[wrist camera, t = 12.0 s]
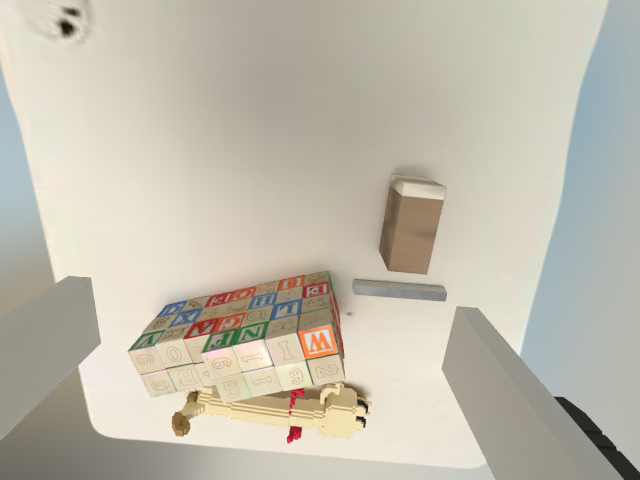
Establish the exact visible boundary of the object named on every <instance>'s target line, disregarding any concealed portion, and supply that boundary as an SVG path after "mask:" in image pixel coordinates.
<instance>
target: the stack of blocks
mask: <svg viewBox="0 0 640 480" xmlns="http://www.w3.org/2000/svg"><path fill="white" fill-rule="evenodd" d="M128 354H129V356H130V358H131V360H132V362H133V364H134V366H135V368H136V370H137V372H138V374H139V375H140V376H141V379H142V381H143V383H144V385H145V386H146V388H147V391H148V392H149V394H150V396H151V397H155V396H160V395H164V394H169V393H174V392H176V391H177V392H181V391H186V390H191V389H196V388H201V387H207V386H212V385H216V388H217V390H218V393H219V395H220V398H221V400H222V403H229V402H234V401H239V400H244V399H249V398H252V397H257V396H262V395H267V394H272V393H277V392H280V391H289V390H294V389H299V388H304V387H309V386H313V385H316V386H317V385H323V384H328V383H333V382H339V381H343V380H345V372H344V362H343V359H344V349H343V341H342V336H341V328H340V318H339V311H338V307H337V303H336V299H335V295H334V292H333V288H332V284H331V280H330V276H329V272H328V271H325V272H320V273H315V274H310V275H305V276H304V275H302V276H298V277H293V278H288V279H283V280H279V281H273V282H269V283H264V284H260V285H257V286H254V287H250V288H245V289H240V290H236V291H234V292H228V293H223V294H219V295H214V296H206V297H202V298H197V299H192V300H189V301H183V302H179V303H174V304H170V305H166V306H165V308H164V309H163V310H162V311H161V312H160V313H159V314H158V315H157V317H156V318H155V319H154V320H153V321H152V322H151V323H150V324H149V325H148V327H147V328H146V329H145V330H144V331H143V333H142V335H141V336H140V337H139V338H138V340H137V341H136V342H135V343H134V344H133V345H132V347H131V348H130V349H129V350H128Z"/></svg>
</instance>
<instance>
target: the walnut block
mask: <svg viewBox="0 0 640 480" xmlns="http://www.w3.org/2000/svg"><path fill="white" fill-rule="evenodd" d="M445 192H446V187H445V186H443V185H440V184H438V183H436V182H434V181H432V180H430V179H428V178H421V177H412V176H402V175H393V174H392V176H391V182H390V188H389V194H388V200H387V206H386V212H385V218H384V223H383V229H382V235H381V241H380V247H379V251H380V254H381V256H382V258H383V260H384V263H385V265H386V267H387V269H388V271H395V272H405V273H416V274H426V275H427V272H428V267H429V263H430V258H431V254H432V250H433V245H434V241H435V236H436V232H437V227H438V223H439V218H440V214H441V210H442V205H443V201H444V196H445Z"/></svg>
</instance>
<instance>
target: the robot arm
mask: <svg viewBox="0 0 640 480" xmlns="http://www.w3.org/2000/svg"><path fill="white" fill-rule="evenodd" d="M100 344H101V341H100V335H99V328H98V322H97V315H96V308H95V302H94V295H93V289H92V282H91V278H89V277H76V276H68V277H66V278H65V279H63V280H61V281H60V282H58V283H56V284H54V285H53V286H51V287H50V288H48V289H46V290H44V291H43V292H41V293H39V294H37V295H36V296H34V297H32V298H30V299H29V300H27V301H25V302H24V303H22V304H20V305H19V306H17V307H15V308H13V309H12V310H10V311H8V312H7V313H5V314H3V315H1V316H0V441H1V440H2V439H3V438H4V437H5V436H6V435H7V434H8V433H9V432H10V431H11V430H12V429H13V428H14V427H15V426H16V425H17V424H18V423H19V422H20V421H21V420H22V419H23V418H24V417H25V416H26V415H27V414H28V413H29V412H31V410H33V408H35V407H36V406H37V405H38V404H39V403H40V402H41V401H42V400H43V399H44V398H45V397H46V396H47V395H48V394H49V393H50V392H51V391H52V390H53V389H54V388H55V387H56V386H57V385H58V384H59V383H60V382H61V381H62V380H63V379H65V378H66V376H68V375H69V374H70V373H71V372H72V371H73V370H74V369H75V368H76V367H77V366H78V365H79V364H80V363H81V362H82V361H83V360H84V359H85V358H86V357H87V356H88V355H89V354H90V353H91V352H92V351H93V350H94V349H95V348H96V347H97V346H98V345H100ZM442 371H443V373H444V375H445V377H446V379H447V381H448V383H449V385H450V387H451V389H452V391H453V393H454V395H455V397H456V399H457V401H458V403H459V406H460V408H461V410H462V412H463V414H464V416H465V418H466V420H467V422H468V424H469V426H470V428H471V430H472V432H473V434H474V436H475V438H476V440H477V442H478V444H479V446H480V448H481V450H482V453H483V455H484V457H485V459H486V461H487V463H488V465H489V467H490V469H491V471H492V473H493V475H494V477H495V479H496V480H640V472H639V471H638V470H637V469H636V468H635V467H634V466H633V465H632V464H631V463H630V462H629V460H628V459H626V457H625V456H624V455H623V454H622V453H621V452H620V451H617V449H616V446H615V445H614V444H613V443H612V442H611V441H610V440H609V439H608V437H607V436H606V435H603V434H602V431H601V430H600V429H599V428H598V427H597V425H595V424H594V422H593V421H592V420H591V419H590V418H589V417H588V416H587V415H586V413H584V412H583V411H582V410H580V409H579V408H577V407H576V406H575V405H574V404H572V403H571V402H569V401H568V400H567V399H565V398H564V397H553V396H552V395H551V393H550V392H549V391H548V390H547V389H546V387H545V386H544V385H543V384H542V383H541V382H540V380H539V379H538V378H537V377H536V376H535V375H534V373H533V372H532V371H531V370H530V369H529V368H528V366H527V365H526V364H525V363H524V362H523V361H522V359H521V358H520V357H519V356H518V355H517V353H516V352H515V351H514V350H513V349H512V348H511V346H510V345H509V344H508V343H507V342H506V341H505V339H504V338H503V337H502V336H501V335H500V334H499V332H498V331H497V330H496V329H495V328H494V327H493V325H492V324H491V323H490V322H489V321H488V320H487V318H486V317H485V316H484V315H483V314H482V312H481V311H480V310H479V309H478V308H471V307H458V306H457V308H456V312H455V316H454V320H453V324H452V328H451V332H450V336H449V340H448V345H447V349H446V353H445V357H444V361H443V365H442Z"/></svg>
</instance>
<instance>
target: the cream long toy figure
mask: <svg viewBox="0 0 640 480" xmlns="http://www.w3.org/2000/svg"><path fill="white" fill-rule="evenodd" d="M333 384H335V385H329V384H326V386H324V389H321V395H320V400H317V399H310V398H309V400H304V399H297V398H296V394H297V395H299V397H301V395H303V396H304V390H305V388H299V389H294V390H292V392H291V398H290V397H286V399H284V398H277V397H270V396H257V397H252V398H249V399H244V400H239V401H234V402H229V403H222V400H221V398H220V395H219V393H218V390H217V388H216V385H212V386H207V387H201V388H196V389H191V390H186V391H182V392H188V393H189V392H190V391H195V390H200V393H199V395H198V394H197V393H191V392H190V394H189V396H188V397H187V400H188V401H187V403H186V404H185V406H184V408H183V409H182V411H179V412H175V414H174V416H173V417H172V428H173V431H174V432H175V433H176V436H182V437H183V436H184V435H187V433H188V432H189V430H190V423H189V420H190V419H191V418H194V416H197V415H200V414H201V413H202V414H207V415H213V414H214V415H221V416H227V417H231V419H234V420H241V421H248V422H255V423H262V424H269V425H276V426H283V427H289V425H290V426H291V427H290V431H289V436H287V443H290V442H292V441H293V439H295V440H298V438H300V437H301V432H302V427H304V428H311V429H312V427H317V430H319V433H321V435H323V436H329V438H334V437H340V438H347V439H349V437H351V435H352V436H353V435H354V430H359V431H360V429H363V428H365V424H366V419H364V417H362V416H363V415H368V416H370V412H368V405H371V404H372V403H371V402H369V401H367V399H364V397H357V393H356V392H355V391H354V390H353V389H352V388H344V384H342V382H341V381H339V382H336V383H335V382H333ZM340 385H342V387H340ZM325 397H327V402H324V401H325ZM366 403H367V404H366ZM188 419H189V420H188Z"/></svg>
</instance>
